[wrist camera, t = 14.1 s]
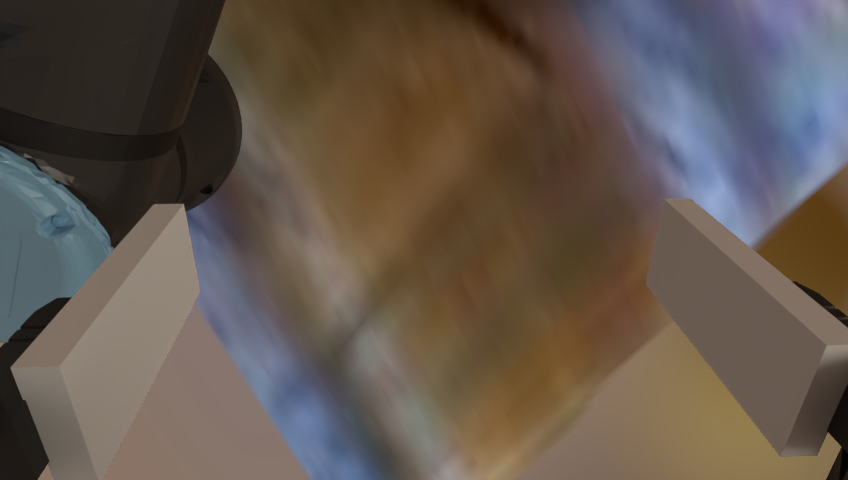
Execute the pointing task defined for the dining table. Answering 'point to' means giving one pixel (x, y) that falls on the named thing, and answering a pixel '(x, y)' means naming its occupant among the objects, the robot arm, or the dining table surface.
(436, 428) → the dining table surface
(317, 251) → the dining table surface
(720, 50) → the dining table surface
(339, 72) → the dining table surface
